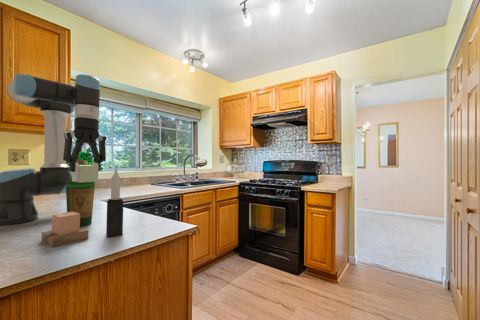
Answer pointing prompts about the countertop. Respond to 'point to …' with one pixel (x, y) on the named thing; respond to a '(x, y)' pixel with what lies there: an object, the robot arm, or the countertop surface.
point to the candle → (115, 209)
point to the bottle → (80, 198)
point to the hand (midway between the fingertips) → (85, 180)
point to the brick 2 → (87, 173)
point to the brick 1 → (65, 223)
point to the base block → (64, 237)
